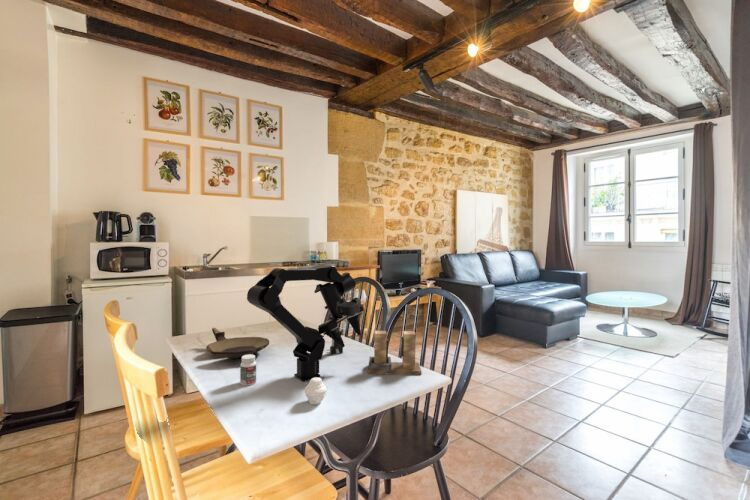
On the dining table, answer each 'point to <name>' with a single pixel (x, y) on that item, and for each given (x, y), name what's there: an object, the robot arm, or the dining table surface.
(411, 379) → the dining table surface
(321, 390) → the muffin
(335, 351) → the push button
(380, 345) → the oak finger
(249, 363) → the pill bottle
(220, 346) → the oil lamp
